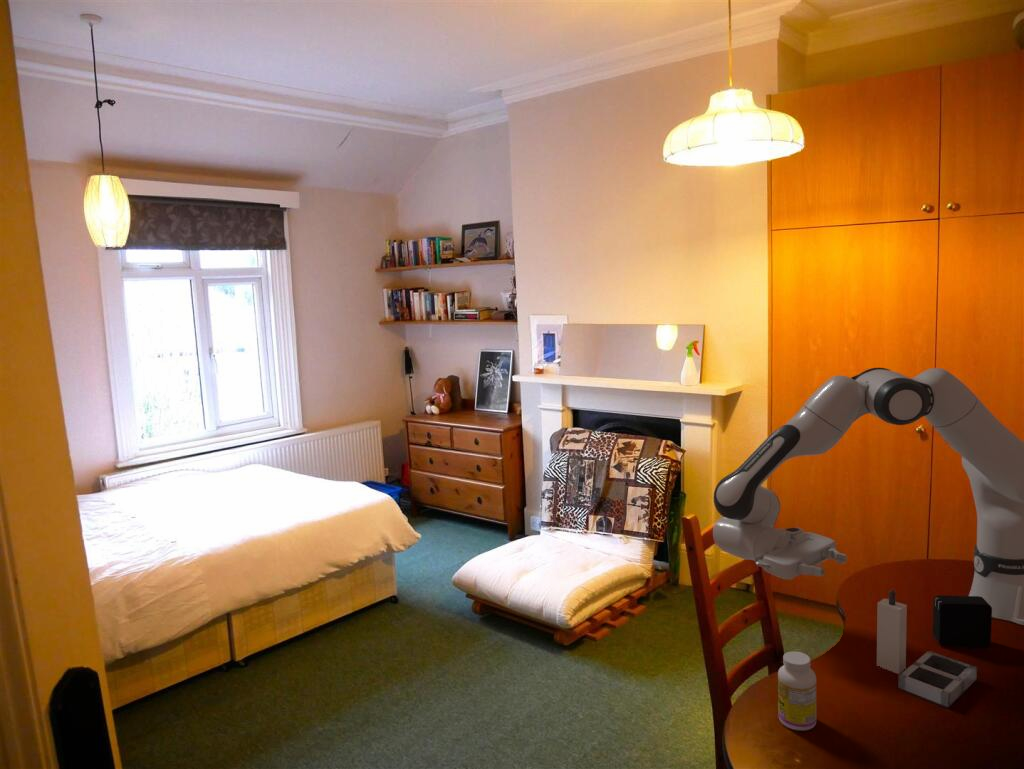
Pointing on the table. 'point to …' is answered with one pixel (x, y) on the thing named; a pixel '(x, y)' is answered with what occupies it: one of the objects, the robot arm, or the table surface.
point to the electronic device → (962, 621)
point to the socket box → (937, 679)
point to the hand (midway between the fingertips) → (834, 566)
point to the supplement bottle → (797, 692)
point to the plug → (891, 634)
